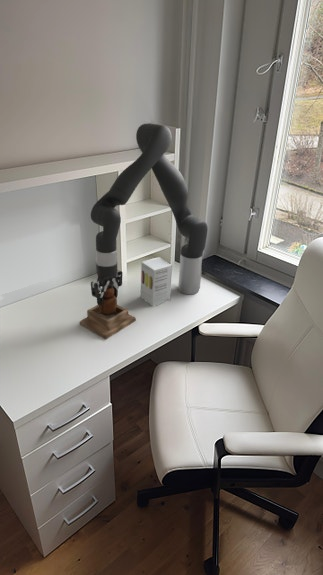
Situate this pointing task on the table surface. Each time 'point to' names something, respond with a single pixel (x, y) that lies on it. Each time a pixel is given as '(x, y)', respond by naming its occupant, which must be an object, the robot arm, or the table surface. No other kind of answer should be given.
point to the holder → (107, 321)
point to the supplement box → (156, 281)
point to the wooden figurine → (108, 302)
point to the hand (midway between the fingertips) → (107, 301)
